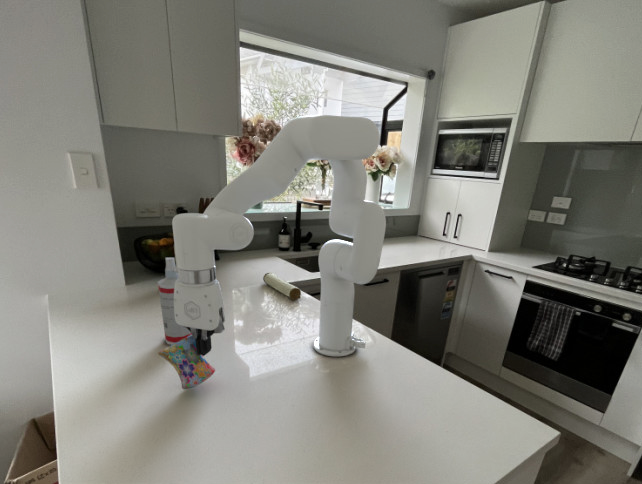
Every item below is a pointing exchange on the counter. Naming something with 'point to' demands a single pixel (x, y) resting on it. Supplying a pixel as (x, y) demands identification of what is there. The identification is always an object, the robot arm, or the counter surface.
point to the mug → (188, 362)
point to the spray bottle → (170, 305)
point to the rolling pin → (282, 286)
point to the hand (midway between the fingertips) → (204, 352)
